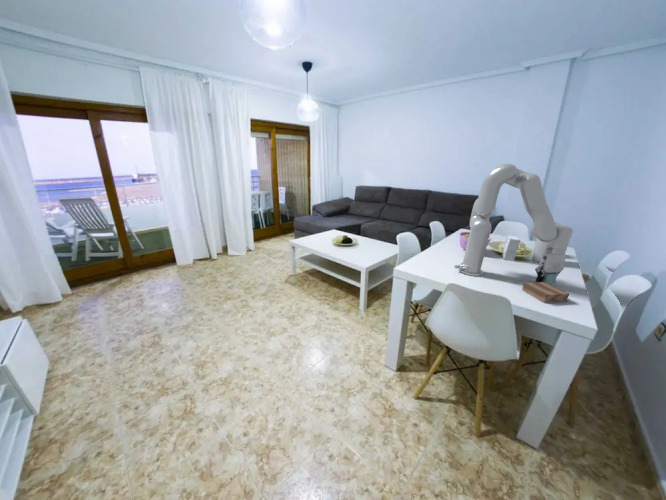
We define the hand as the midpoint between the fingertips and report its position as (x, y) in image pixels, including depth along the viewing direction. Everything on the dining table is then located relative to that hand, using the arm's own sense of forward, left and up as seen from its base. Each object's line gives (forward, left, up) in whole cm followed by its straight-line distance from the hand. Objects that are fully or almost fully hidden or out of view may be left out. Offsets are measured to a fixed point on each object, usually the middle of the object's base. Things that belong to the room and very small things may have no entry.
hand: (544, 282), depth 133 cm
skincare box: (+10, +36, -1) cm, 37 cm away
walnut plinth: (-12, -11, -1) cm, 16 cm away
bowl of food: (-5, +52, -1) cm, 52 cm away
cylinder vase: (+30, +30, -1) cm, 42 cm away
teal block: (0, 0, -1) cm, 1 cm away
